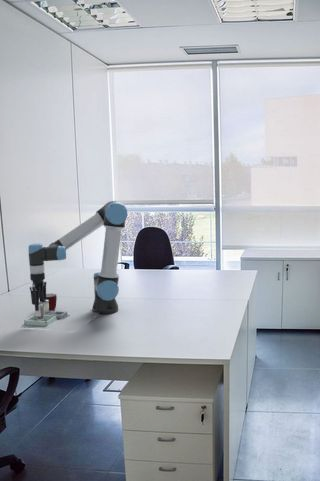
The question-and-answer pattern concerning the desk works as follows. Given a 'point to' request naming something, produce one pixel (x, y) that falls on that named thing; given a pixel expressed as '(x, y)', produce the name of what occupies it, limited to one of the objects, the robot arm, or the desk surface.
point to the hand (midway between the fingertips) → (40, 314)
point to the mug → (51, 301)
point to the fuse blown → (40, 318)
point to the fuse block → (58, 314)
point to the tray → (32, 321)
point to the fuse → (46, 307)
